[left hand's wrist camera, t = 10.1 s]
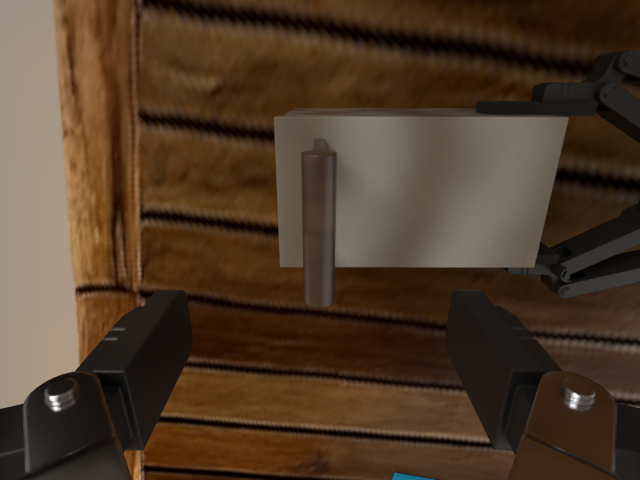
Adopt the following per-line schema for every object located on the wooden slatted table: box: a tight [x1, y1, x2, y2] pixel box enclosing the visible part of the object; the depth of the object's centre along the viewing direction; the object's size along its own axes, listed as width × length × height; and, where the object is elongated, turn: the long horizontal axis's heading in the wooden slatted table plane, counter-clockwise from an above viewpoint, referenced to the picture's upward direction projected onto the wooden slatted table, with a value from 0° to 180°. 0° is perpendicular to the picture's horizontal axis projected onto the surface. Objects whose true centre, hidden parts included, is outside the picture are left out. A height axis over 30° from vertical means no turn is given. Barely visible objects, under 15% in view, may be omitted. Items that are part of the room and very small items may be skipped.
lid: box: [274, 115, 569, 307], centre depth 21 cm, size 17×10×8 cm, turn 90°
